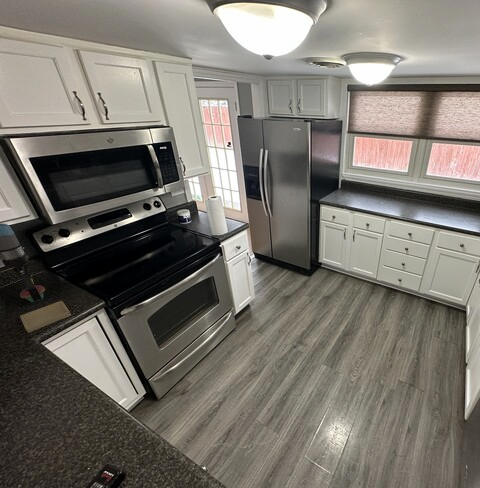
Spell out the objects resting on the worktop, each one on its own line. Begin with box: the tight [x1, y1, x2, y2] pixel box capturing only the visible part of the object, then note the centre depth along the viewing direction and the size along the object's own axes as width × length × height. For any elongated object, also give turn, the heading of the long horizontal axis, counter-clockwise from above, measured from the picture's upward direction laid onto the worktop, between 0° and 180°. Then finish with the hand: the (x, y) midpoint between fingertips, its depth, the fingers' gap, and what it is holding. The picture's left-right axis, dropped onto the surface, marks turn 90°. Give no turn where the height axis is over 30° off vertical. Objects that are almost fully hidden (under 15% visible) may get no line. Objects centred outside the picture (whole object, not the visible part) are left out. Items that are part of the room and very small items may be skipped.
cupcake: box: [19, 277, 46, 303], centre depth 128 cm, size 9×8×12 cm
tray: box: [19, 300, 72, 334], centre depth 119 cm, size 13×14×2 cm
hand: (35, 294), depth 129 cm, fingers open, 13 cm apart
